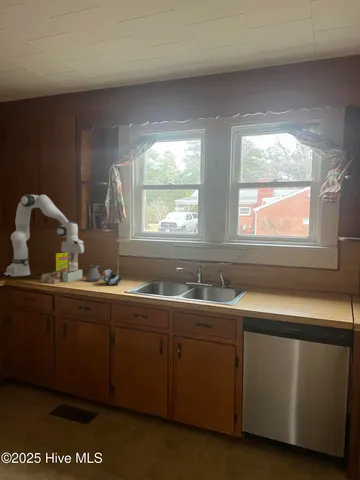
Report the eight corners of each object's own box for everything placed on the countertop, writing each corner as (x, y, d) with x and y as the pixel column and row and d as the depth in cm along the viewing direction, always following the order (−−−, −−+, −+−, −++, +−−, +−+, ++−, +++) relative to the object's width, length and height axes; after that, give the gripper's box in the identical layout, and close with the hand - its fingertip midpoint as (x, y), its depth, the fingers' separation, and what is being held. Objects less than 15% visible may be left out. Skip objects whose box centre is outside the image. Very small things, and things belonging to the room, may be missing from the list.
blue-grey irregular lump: (116, 286, 265) (107, 271, 262) (104, 291, 269) (95, 276, 266) (124, 277, 278) (115, 262, 275) (112, 281, 283) (104, 267, 280)
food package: (56, 276, 297) (56, 253, 295) (55, 276, 298) (55, 253, 296) (71, 274, 309) (71, 252, 307) (71, 274, 310) (70, 251, 308)
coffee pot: (94, 282, 277) (94, 264, 275) (83, 281, 282) (83, 262, 280) (111, 278, 295) (111, 260, 294) (100, 276, 301) (100, 259, 299)
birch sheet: (67, 271, 281) (67, 254, 280) (76, 269, 291) (76, 252, 290) (69, 271, 281) (69, 254, 279) (77, 269, 291) (77, 252, 290)
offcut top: (52, 277, 275) (51, 273, 275) (56, 275, 285) (56, 271, 285) (57, 277, 275) (57, 273, 275) (62, 275, 285) (62, 271, 285)
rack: (40, 282, 276) (40, 274, 275) (56, 277, 293) (56, 270, 292) (53, 283, 271) (53, 276, 270) (69, 279, 288) (69, 272, 288)
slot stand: (62, 281, 279) (62, 272, 278) (77, 277, 296) (77, 269, 296) (67, 282, 277) (67, 273, 277) (82, 277, 294) (82, 269, 294)
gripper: (59, 241, 285) (59, 257, 286) (80, 242, 277) (80, 259, 279) (64, 240, 290) (64, 256, 292) (85, 241, 283) (85, 258, 284)
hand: (72, 258), depth 285 cm, fingers closed on birch sheet, 2 cm apart
